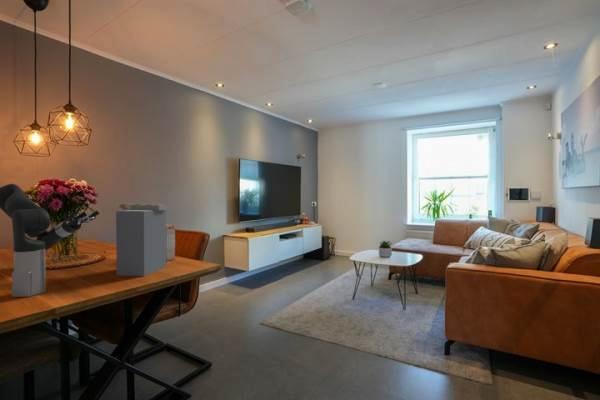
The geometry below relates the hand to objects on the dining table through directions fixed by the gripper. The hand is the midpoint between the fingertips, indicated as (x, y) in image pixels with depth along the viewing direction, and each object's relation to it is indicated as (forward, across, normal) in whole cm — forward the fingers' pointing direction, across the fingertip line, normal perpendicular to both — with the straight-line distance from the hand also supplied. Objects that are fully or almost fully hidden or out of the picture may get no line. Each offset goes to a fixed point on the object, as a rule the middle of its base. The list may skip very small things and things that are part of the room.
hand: (92, 212), depth 159 cm
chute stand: (+12, -4, +40) cm, 42 cm away
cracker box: (+8, +23, +39) cm, 46 cm away
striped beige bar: (+23, +1, +11) cm, 26 cm away
